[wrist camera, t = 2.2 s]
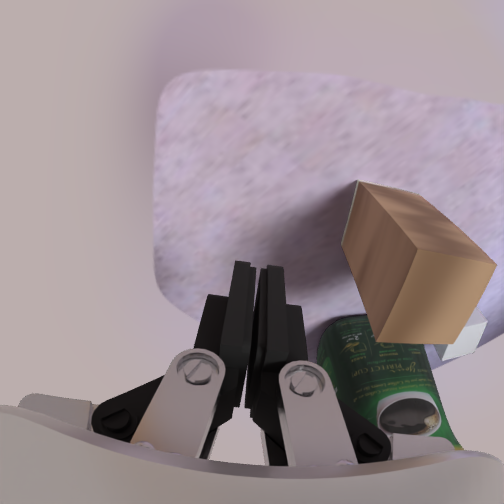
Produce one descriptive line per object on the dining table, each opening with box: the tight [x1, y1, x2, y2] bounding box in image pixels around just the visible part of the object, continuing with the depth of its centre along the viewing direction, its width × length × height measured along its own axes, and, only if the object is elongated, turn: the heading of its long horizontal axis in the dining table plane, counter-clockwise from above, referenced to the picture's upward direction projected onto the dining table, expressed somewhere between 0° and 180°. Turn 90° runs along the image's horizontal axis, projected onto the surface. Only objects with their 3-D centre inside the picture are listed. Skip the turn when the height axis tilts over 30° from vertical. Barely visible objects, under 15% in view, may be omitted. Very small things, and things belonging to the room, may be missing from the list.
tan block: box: [341, 180, 497, 344], centre depth 16 cm, size 5×5×10 cm
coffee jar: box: [317, 315, 464, 451], centre depth 18 cm, size 10×8×19 cm
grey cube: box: [433, 306, 488, 361], centre depth 23 cm, size 4×4×4 cm
